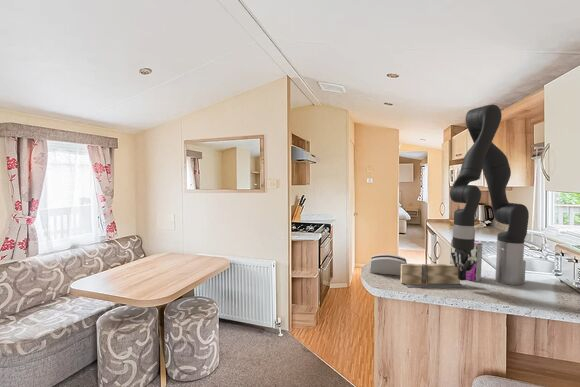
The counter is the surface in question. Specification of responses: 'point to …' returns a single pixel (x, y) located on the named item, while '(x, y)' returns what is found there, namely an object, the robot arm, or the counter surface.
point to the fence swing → (442, 274)
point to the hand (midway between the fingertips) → (461, 279)
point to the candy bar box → (476, 269)
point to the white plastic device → (386, 264)
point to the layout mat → (432, 285)
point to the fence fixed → (413, 273)
